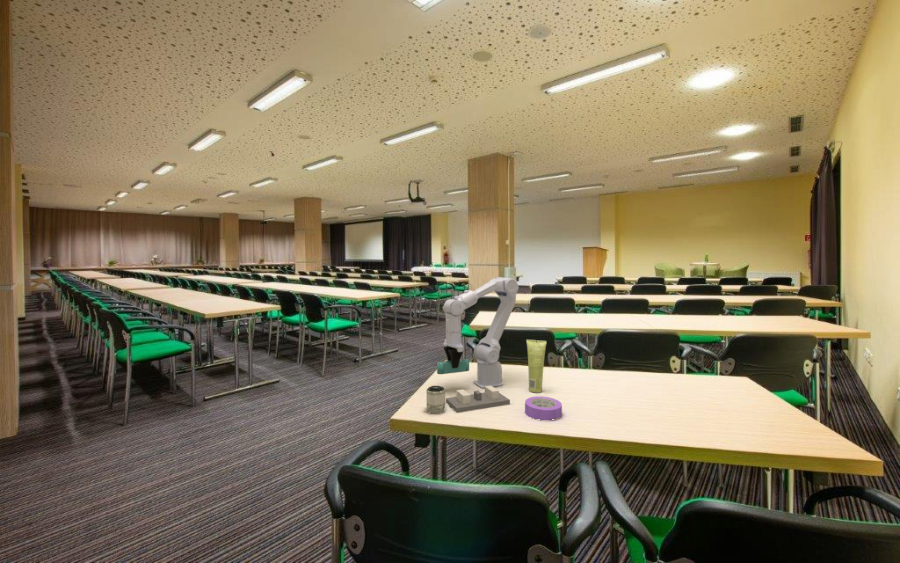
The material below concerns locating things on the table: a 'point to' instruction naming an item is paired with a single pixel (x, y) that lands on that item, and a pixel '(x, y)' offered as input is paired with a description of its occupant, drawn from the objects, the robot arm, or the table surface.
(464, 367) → the teal dome-capped pillar
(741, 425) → the table surface
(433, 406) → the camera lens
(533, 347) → the tube
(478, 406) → the display stand
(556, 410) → the masking tape
